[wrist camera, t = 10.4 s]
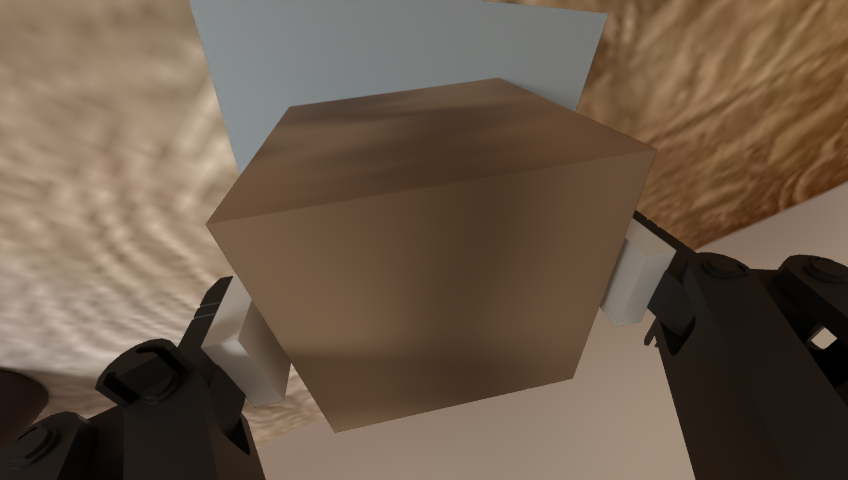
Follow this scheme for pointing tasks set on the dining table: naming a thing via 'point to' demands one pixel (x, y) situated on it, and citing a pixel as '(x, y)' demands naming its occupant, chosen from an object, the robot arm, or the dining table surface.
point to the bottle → (18, 405)
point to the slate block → (381, 53)
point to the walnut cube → (431, 243)
